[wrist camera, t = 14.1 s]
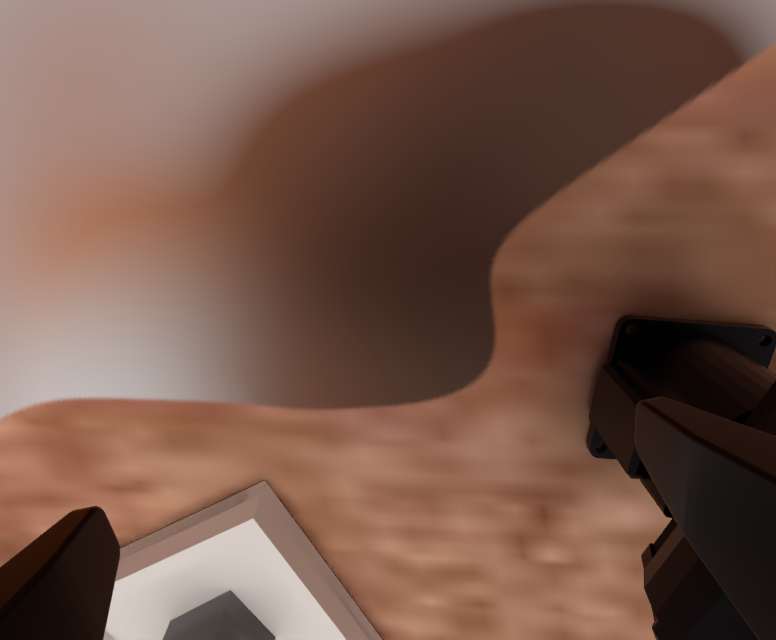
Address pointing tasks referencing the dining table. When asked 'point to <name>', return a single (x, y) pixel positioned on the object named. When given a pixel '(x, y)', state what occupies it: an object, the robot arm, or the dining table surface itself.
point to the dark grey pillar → (218, 622)
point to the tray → (233, 574)
